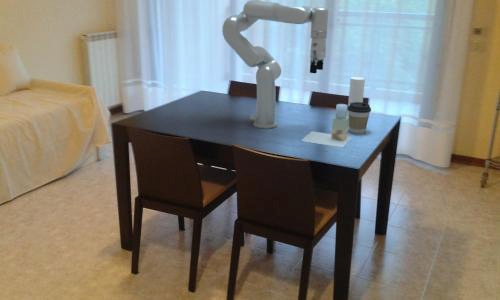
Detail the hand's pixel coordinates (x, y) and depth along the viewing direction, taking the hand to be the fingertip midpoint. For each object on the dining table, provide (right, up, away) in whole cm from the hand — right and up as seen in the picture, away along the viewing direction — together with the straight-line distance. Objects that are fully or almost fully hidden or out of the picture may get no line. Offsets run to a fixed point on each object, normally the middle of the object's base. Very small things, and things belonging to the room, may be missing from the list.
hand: (316, 71), depth 232 cm
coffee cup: (+21, -30, +7) cm, 37 cm away
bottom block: (+10, -32, -4) cm, 34 cm away
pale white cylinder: (+10, -23, -7) cm, 26 cm away
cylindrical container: (+22, -25, +20) cm, 39 cm away
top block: (+10, -28, -6) cm, 30 cm away
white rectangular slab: (+4, -34, -5) cm, 35 cm away
